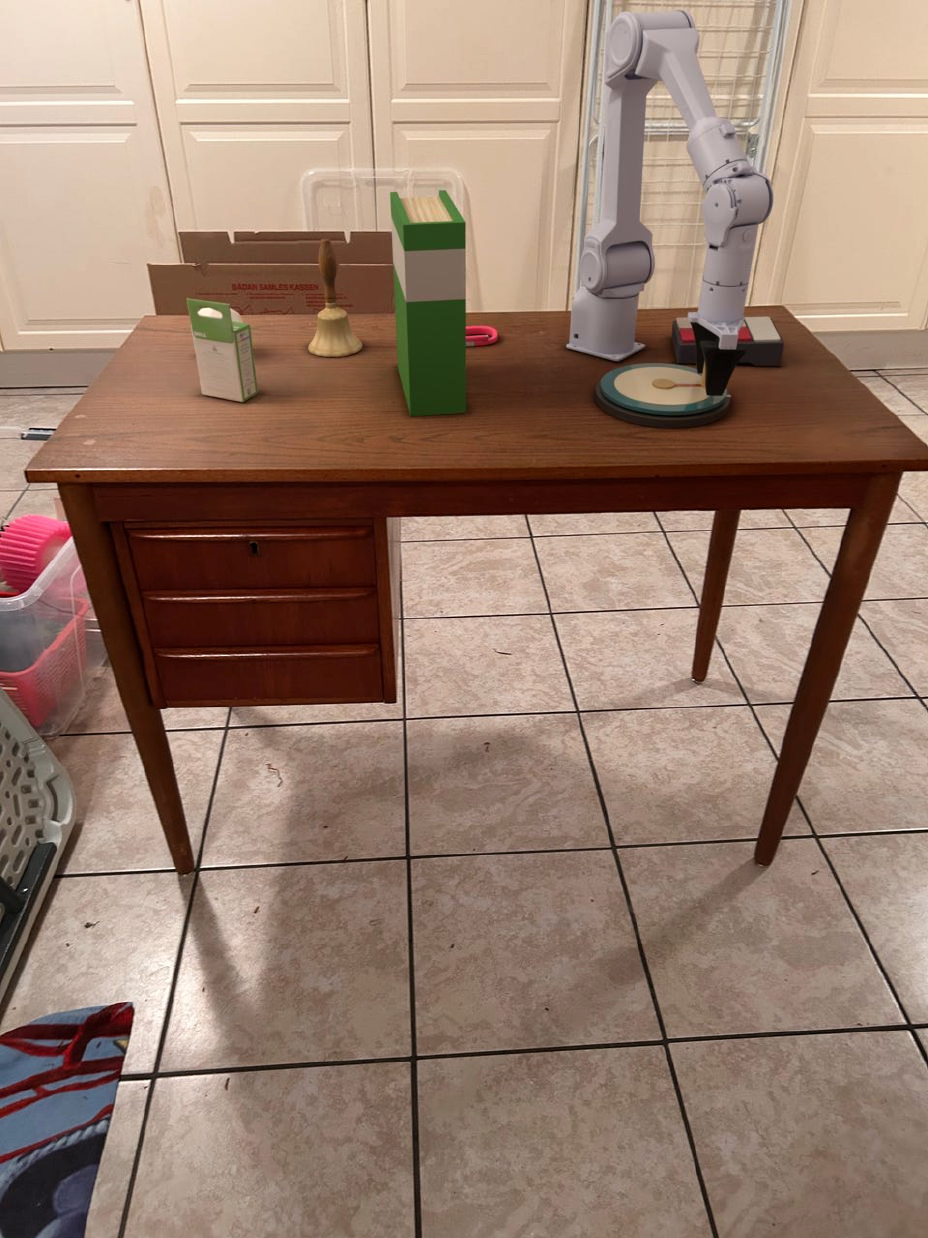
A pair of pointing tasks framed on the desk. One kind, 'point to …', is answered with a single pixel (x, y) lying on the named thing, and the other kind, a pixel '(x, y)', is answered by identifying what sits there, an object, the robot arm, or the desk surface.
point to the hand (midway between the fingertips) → (709, 383)
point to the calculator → (753, 333)
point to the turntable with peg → (659, 389)
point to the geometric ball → (214, 313)
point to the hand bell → (332, 314)
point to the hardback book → (430, 302)
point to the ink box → (223, 353)
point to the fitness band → (482, 338)
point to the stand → (660, 420)
